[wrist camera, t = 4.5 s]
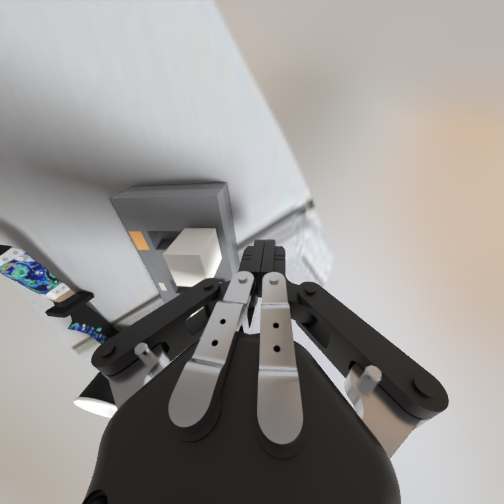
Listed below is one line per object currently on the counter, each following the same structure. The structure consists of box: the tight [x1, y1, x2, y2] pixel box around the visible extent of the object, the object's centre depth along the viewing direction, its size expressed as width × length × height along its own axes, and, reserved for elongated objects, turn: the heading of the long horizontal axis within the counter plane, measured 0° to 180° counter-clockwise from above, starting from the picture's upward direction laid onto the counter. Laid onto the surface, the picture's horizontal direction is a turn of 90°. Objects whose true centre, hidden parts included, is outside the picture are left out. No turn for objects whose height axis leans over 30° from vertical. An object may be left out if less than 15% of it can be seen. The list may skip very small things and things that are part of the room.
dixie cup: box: [73, 371, 117, 418], centre depth 31 cm, size 8×8×11 cm
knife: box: [0, 245, 119, 344], centre depth 30 cm, size 31×3×4 cm, turn 0°
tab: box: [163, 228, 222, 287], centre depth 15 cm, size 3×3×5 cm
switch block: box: [109, 183, 240, 338], centre depth 22 cm, size 20×9×3 cm, turn 5°
